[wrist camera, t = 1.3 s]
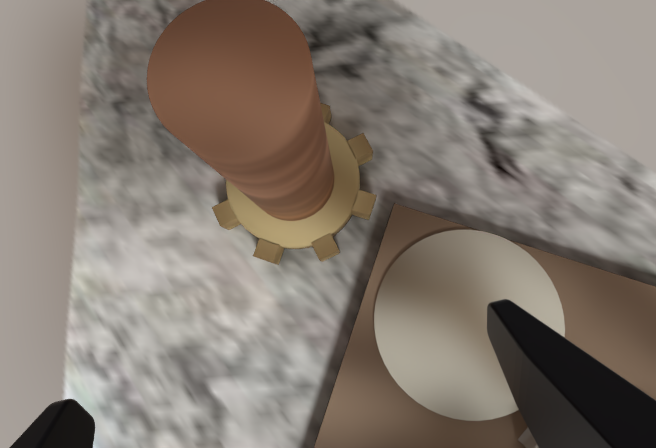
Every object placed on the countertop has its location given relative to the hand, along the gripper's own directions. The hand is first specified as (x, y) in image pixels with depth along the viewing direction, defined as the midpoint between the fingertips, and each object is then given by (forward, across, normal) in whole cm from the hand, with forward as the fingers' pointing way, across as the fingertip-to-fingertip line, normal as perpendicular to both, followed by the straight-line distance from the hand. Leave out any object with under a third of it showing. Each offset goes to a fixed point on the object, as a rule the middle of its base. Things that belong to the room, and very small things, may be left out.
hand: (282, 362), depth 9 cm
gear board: (+5, -8, +14) cm, 17 cm away
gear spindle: (+15, 0, +4) cm, 15 cm away
